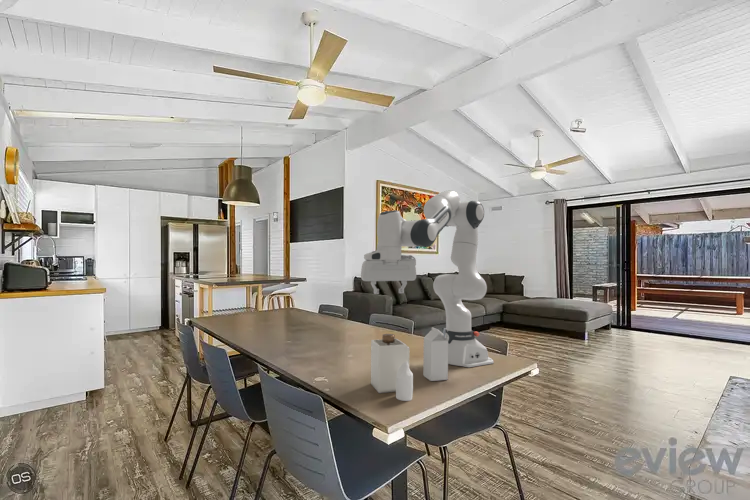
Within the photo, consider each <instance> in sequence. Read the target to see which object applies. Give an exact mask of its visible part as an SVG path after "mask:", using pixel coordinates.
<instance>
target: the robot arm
mask: <svg viewBox="0 0 750 500" xmlns="http://www.w3.org/2000/svg"><path fill="white" fill-rule="evenodd" d="M423 215H424V217H425V218H424V219H415V220H414V219H413V220H407V219H405V218H403V216H402V214H401V212H400V211H399V210H396V209H395V210H387V211H386V210H385V211H382V212H380V213H379V215H378V218H377V223H376V224H377V225H376V236H377V244H376V245H377V246H376V250H375V251H374V250H373V251H369V252H368V253H365V254H364V255H363V256H364V257H363V258H364V261H363V262H362V263H361V264H362V265H361V271H360V278H361V280H362V281H363V282H370V285H371V287H372V289H373V294H374V295H379V294H380V289H379V288H377V286H376V285H377V282H399V281H400V282H401V287H398V294H405V293H404V292H405V288H406V286H407V285H408V282H409V281H410V282H411V281H416V279H417V267H416V265H417V260H416V259H417V258H416V257H415V256H413V255H411V254H410V255H404V254H403V255H402V247H408V248H409V247H421V248H429V247H431V246H432V245H433V244H434V243H435V242H436V241H437V237H438V235H439V234H440V233H441V231H442V230H443V229H444V228H445V227H455V228H456V230H455V233H454V237H453V240H452V241H453V242H452V246H451V254H450V260H451V263H452V264H453V265H454V266H456V267H457V269H458V274H456V273H455V274H454V273H445V274H440V275H437V276H436V277H435V278H434V281H433V284H432V287H433V291H434V293H435V294H436V296H438V297H439V299H440V300H441V303H442V305H443V307H444V310H445V311H444V312H445V329H444V330H445V331H444V337H445V338H446V339H447V340H448V365H451V366H459V367H465V368H472V367H479V366H484V365H485V366H487V365H493V364H494V360H493V358H491V357H489V353H488V352H489V351H488V349H487V347H486V346H484V344H482V343H481V342H480V341H479V340H477V337H479V336H480V332H479V331H475V330H472V313H471V311H470V310H469V309H468V307H467V308H466V306H465V305H464V303H463V302H462V301H463V300H464V301H465V300H466V301H476V300H482V299H483V298H484V297H485V295H486V294H487V291H488V285H487V282H486V281H485V279H484V278H483V276H482V275H480V273H479V271H478V268H477V253H478V245H479V226H480V224H481V223H482V221H483V219H484V217H485V209H484V206H483V205H482V203H481V202H480V201H477V200H469V201H468V200H462V201H461V197H460V196H459V194H458V193H457V192H456V191H454V190H445V191H444V190H443V191H442V192H439V193H437V194H435V195H433V196H432V197H431V198H429V199H428V200H427V201H426V202H425V204H424V206H423Z"/></svg>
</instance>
